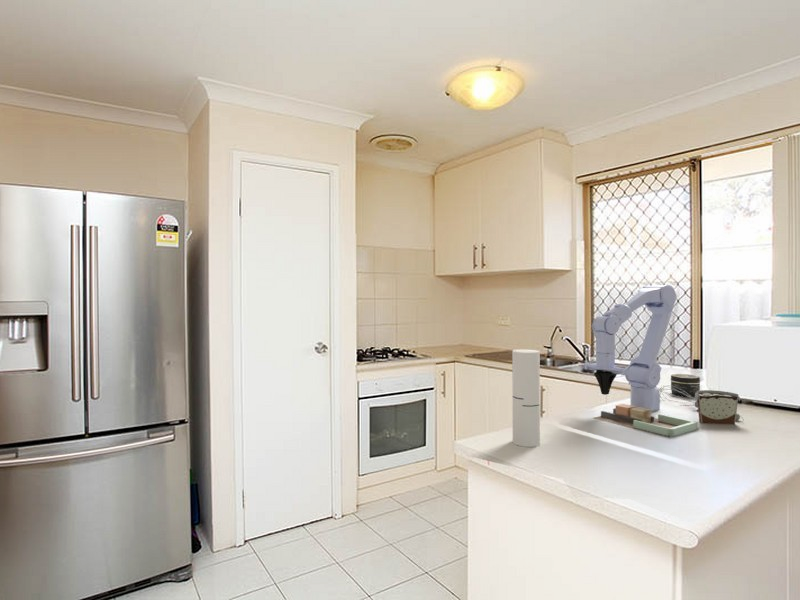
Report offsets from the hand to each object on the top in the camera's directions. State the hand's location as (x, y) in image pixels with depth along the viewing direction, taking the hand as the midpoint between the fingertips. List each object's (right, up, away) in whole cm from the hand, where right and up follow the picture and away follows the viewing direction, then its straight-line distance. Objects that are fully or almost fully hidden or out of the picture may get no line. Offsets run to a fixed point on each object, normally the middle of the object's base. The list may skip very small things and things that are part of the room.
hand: (605, 394), depth 152 cm
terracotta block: (+4, -7, -6) cm, 10 cm away
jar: (+46, -7, +33) cm, 57 cm away
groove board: (+7, -8, -11) cm, 15 cm away
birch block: (+6, -7, -10) cm, 14 cm away
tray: (+10, -7, -17) cm, 21 cm away
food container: (+29, -8, -9) cm, 31 cm away
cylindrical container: (-33, -8, -26) cm, 43 cm away
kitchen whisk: (+36, -8, +9) cm, 38 cm away
